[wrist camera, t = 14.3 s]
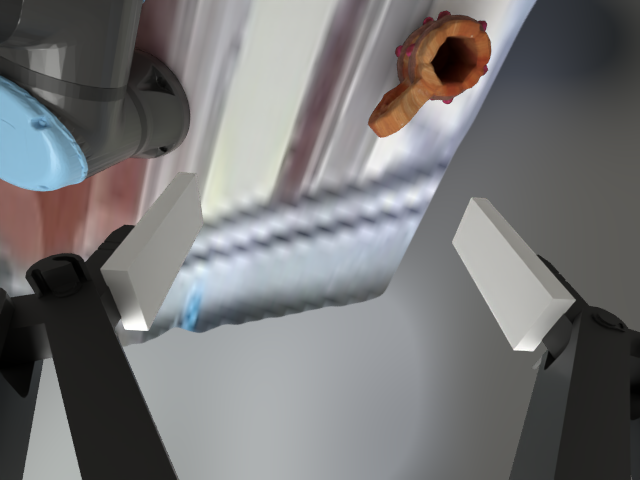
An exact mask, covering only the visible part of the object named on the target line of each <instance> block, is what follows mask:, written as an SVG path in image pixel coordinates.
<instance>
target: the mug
mask: <svg viewBox="0 0 640 480" xmlns="http://www.w3.org/2000/svg"><path fill="white" fill-rule="evenodd" d="M486 27H487V23H486V21H476V20H475V19H473V18H470V17H468V16H463V15H451V14H450V12H448V11H443V12H440V14H439V16H438V18H437V21H434V20H433V18H431V17H427V18H426V19H425V20H424V22H423V26H421V27H420V28H418V29H417V30H415V31H414V32H413V33H412V34H411V35H410V36H409V37H408V38H407V40H406V41H405V42H404V44H403V46H402V45H401V46H398V47H397V48H396V51H395V54H396V56H397V57H398V60H397V71H398V77H399V80H400V84H399V85H398V86H397V87H395V88H394V89H392V90H390V91H389V92H387V93H386V94H384V96H383V98H382V100H381V101H380V103H379V104H378V105H377V107H376V108H375V110H374V111H373V113H372V114H371V116H370V118H369V121H368V125H369V126H370V128H371V129H373V131H374V132H375V133H376V134H377V135H378V136H379V137H380V138H381V137H387V136H389V135H391V134H393V133H395V132H397V131H399V130H400V129H401V128H403V127H404V126H405V125H406V124H407V123H408V122H409V121H410V120H411V119H412V118H413V117H414V115H415V114H416V113H417V112H418V110H419V109H420V108H421V107H422V106H423V104H424V103H425V102H426V101H428V100H429V99H430V100H442V101H443V102H444V103H445V104H450V103H451V102H452V100H453V98H454V97H455V96H457V95H459V94H461V93H463V92H464V91H465V90H466V89H469V88H472V87H473V86H474V85H475V84H476V83H477V82H478V80H479V78H480V77H481V76H483V75H485V73H486V72H487V71H488V68H487V65H486V64H487V63H488V62H489V59H490V56H491V42H490V39H489V37H488V35H487V33H486V32H485V31H486Z"/></svg>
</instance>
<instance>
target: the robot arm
mask: <svg viewBox="0 0 640 480" xmlns="http://www.w3.org/2000/svg"><path fill="white" fill-rule="evenodd" d="M144 2H145V0H0V178H1V179H2V180H4V181H6V182H8V183H11V184H13V185H16V186H18V187H21V188H25V189H29V190H35V191H51V190H56V189H59V188H62V187H65V186H67V185H72V184H77V183H80V182H82V181H83V180H84V179H86V178H88V177H90V176H92V175H94V174H96V173H99V172H101V171H103V170H105V169H107V168H109V167H111V166H113V165H115V164H117V163H119V162H121V161H123V160H125V159H127V158H145V159H150V158H157V157H161V156H164V155H166V154H168V153H170V152H172V151H173V150H175V149H176V148H177V147H179V146H180V145H181V143H182V142H183V141H184V139H185V137H186V135H187V132H188V129H189V123H190V112H189V106H188V102H187V98H186V95H185V93H184V91H183V89H182V87H181V85H180V83H179V81H178V80H177V78H176V77H175V76H174V74H173V73H172V72H171V71H170V70H169V69H168V68H167V67H166V66H165V65H164V64H163V63H162V62H161V61H159V60H158V59H157V58H155V57H153V56H152V55H150V54H148V53H146V52H143V51H140V50H137V49H134V47H135V41H136V36H137V30H138V25H139V19H140V14H141V8H142V3H144ZM202 225H203V217H202V210H201V203H200V196H199V189H198V182H197V175H196V173H184V172H179V173H178V174H177V175H176V177H175V178H174V179H173V180H172V182H171V183H170V184H169V185H168V187H167V188H166V189H165V190H164V191H163V193H162V194H161V195H160V196H159V198H158V199H157V200H156V201H155V202H154V204H153V205H152V206H151V207H150V209H149V210H148V211H147V212H146V214H145V215H144V216H143V217H142V218H141V220H140V221H139V222H138V223H137V225H136V226H134V225H123V226H122V227H120V228H118V229H117V230H115V231H113V232H112V233H111V234H110V235H109V236H108V237H107V238H106V240H105V241H104V243H102V244H101V245H100V246H99V247H98V250H96V251H95V252H94V253H93V254H92V255H91V256H90V257H89V259H88V260H87V261H86V262H84V260H83V259H82V258H81V257H80V256H79V255H76V254H72V253H62V254H57V255H52V256H49V257H47V258H44V259H41V260H40V261H38V262H36V263H35V264H33V265H32V266H31V267H30V268H29V269H28V270H27V272H26V277H25V278H26V279H27V281H28V283H29V284H30V286H31V287H32V289H33V291H34V292H35V294H30V295H24V296H17V297H11V298H10V297H9V295H8V294H7V292H6V291H5V290H3V289H2V288H0V480H22V479H23V473H24V467H25V461H26V455H27V450H28V444H29V439H30V433H31V428H32V421H33V416H34V411H35V405H36V399H37V394H38V388H39V382H40V377H41V371H42V365H43V359H47V358H51V357H53V361H54V365H55V369H56V373H57V377H58V382H59V386H60V390H61V394H62V398H63V403H64V407H65V411H66V415H67V419H68V423H69V427H70V432H71V436H72V439H73V444H74V448H75V452H76V456H77V460H78V465H79V469H80V473H81V477H82V480H179V479H178V476H177V474H176V472H175V469H174V467H173V465H172V462H171V460H170V458H169V455H168V453H167V451H166V448H165V446H164V444H163V441H162V439H161V436H160V434H159V432H158V430H157V427H156V425H155V422H154V421H153V418H152V415H151V413H150V411H149V408H148V406H147V404H146V401H145V399H144V397H143V394H142V392H141V390H140V388H139V385H138V383H137V380H136V378H135V376H134V373H133V371H132V369H131V366H130V364H129V362H128V359H127V357H126V355H125V352H124V350H123V348H122V345H121V343H120V341H119V338H118V336H117V334H116V331H115V329H114V328H115V327H116V325H117V323H118V322H119V320H120V319H121V321H122V323H123V325H124V328H125V329H126V330H145V331H148V330H149V328H150V327H151V325H152V323H153V321H154V319H155V317H156V315H157V313H158V311H159V309H160V307H161V305H162V303H163V301H164V299H165V297H166V295H167V293H168V291H169V290H170V288H171V286H172V284H173V282H174V280H175V278H176V276H177V274H178V272H179V270H180V268H181V266H182V264H183V262H184V260H185V258H186V256H187V254H188V253H189V251H190V249H191V247H192V245H193V243H194V241H195V239H196V237H197V235H198V233H199V231H200V229H201V227H202ZM452 243H453V245H454V247H455V248H456V250H457V252H458V253H459V255H460V257H461V259H462V261H463V262H464V264H465V266H466V268H467V269H468V271H469V273H470V274H471V276H472V278H473V280H474V281H475V283H476V285H477V287H478V289H479V290H480V292H481V294H482V296H483V297H484V299H485V301H486V303H487V304H488V306H489V308H490V310H491V311H492V313H493V315H494V316H495V318H496V320H497V322H498V324H499V325H500V327H501V329H502V331H503V332H504V334H505V336H506V338H507V339H508V341H509V343H510V345H511V346H512V348H513V350H523V351H534V349H535V348H536V347H537V346H538V345H539V343H540V342H541V341H543V343H544V344H545V346H546V347H547V349H548V350H547V351H546V352H545V353H544V354H543V355H542V357H540V359H539V360H538V361H537V362H536V363H535V364H534V366H533V368H534V369H536V368H537V367H538V366H540V367H539V371H538V374H537V378H536V381H535V385H534V389H533V392H532V396H531V400H530V404H529V407H528V411H527V415H526V418H525V422H524V426H523V429H522V433H521V437H520V440H519V444H518V448H517V451H516V456H515V459H514V462H513V466H512V470H511V474H510V477H509V480H631V477H632V480H640V332H637V331H634V330H631V329H628V327H627V326H626V325H625V324H624V322H623V321H622V320H620V319H619V318H618V317H617V316H615V315H614V314H612V313H610V312H608V311H606V310H604V309H601V308H598V307H593V306H589V305H588V304H587V303H586V302H585V301H584V300H583V298H582V297H581V296H580V295H579V294H578V293H577V292H576V291H575V290H574V288H572V287H571V285H570V284H569V283H568V282H566V281H565V279H564V277H563V276H562V275H561V274H559V272H558V271H557V270H556V269H555V268H554V267H553V265H552V264H551V263H550V262H548V261H547V260H545V259H544V258H542V257H541V256H540V255H536V254H535V253H534V252H533V251H532V250H531V249H530V247H529V246H528V245H527V244H526V243H525V242H524V241H523V240H522V238H521V237H520V236H519V235H518V234H517V233H516V231H515V230H514V229H513V228H512V227H511V226H510V225H509V223H508V222H507V221H505V219H504V218H503V217H502V215H501V214H500V213H499V212H498V211H497V210H496V209H495V208H494V206H493V205H492V204H491V203H490V202H489V201H488V200H487V199H486V198H474V197H472V198H471V200H470V202H469V204H468V207H467V209H466V211H465V214H464V216H463V218H462V221H461V223H460V225H459V227H458V230H457V232H456V234H455V237H454V239H453V241H452Z"/></svg>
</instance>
